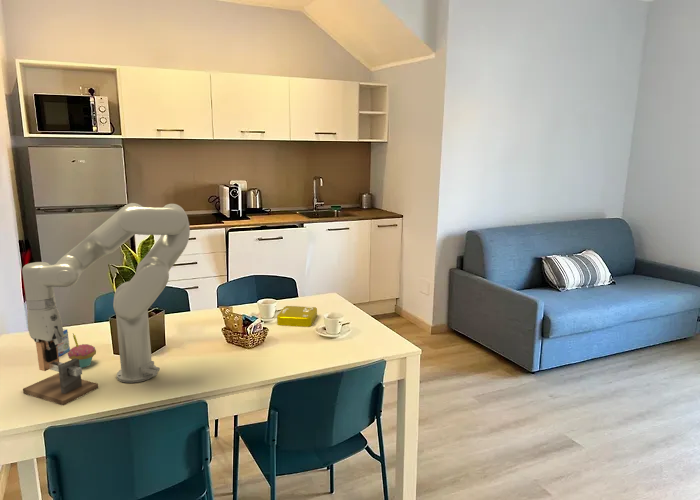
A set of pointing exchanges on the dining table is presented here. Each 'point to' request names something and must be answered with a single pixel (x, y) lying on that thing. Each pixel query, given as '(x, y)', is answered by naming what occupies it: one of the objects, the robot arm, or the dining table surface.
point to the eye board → (55, 390)
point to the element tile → (297, 316)
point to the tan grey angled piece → (53, 364)
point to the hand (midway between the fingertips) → (48, 359)
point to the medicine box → (64, 344)
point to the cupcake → (82, 353)
